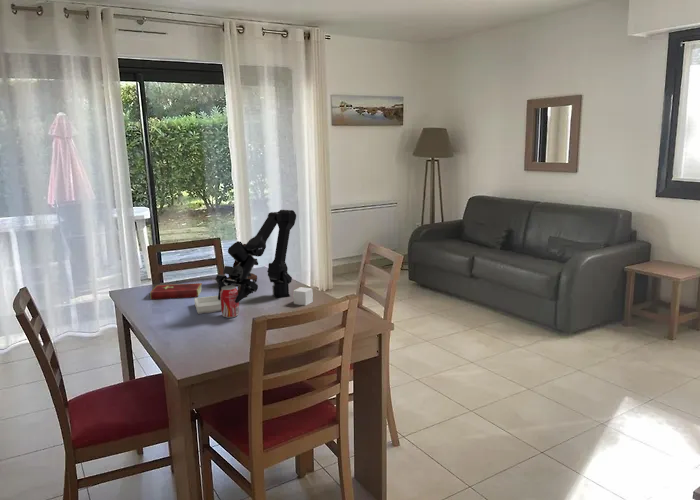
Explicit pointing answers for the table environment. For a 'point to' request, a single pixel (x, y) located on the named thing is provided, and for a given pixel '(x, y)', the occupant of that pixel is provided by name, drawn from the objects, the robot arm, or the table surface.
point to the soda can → (229, 301)
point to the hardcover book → (176, 291)
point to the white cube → (303, 296)
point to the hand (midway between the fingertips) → (227, 301)
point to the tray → (207, 304)
